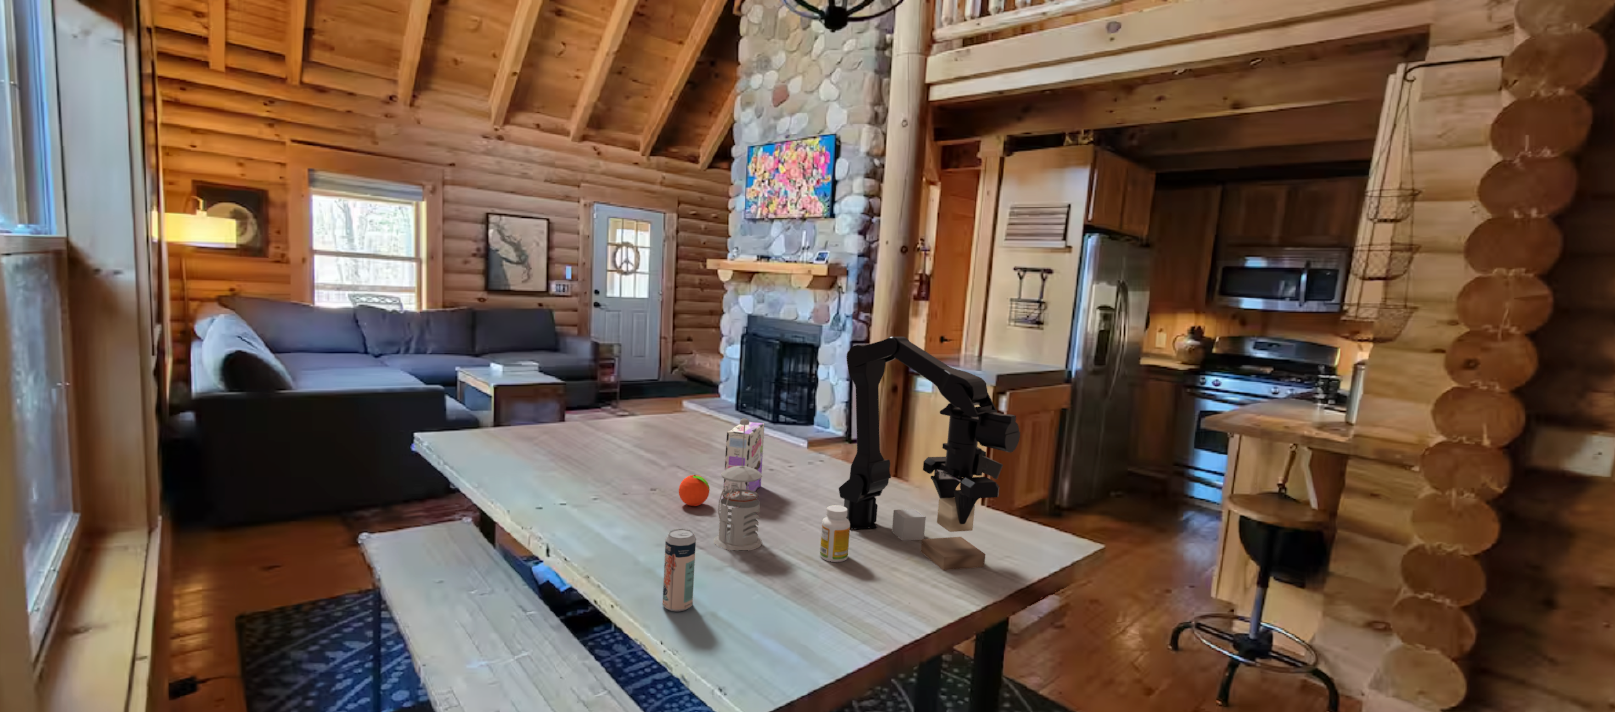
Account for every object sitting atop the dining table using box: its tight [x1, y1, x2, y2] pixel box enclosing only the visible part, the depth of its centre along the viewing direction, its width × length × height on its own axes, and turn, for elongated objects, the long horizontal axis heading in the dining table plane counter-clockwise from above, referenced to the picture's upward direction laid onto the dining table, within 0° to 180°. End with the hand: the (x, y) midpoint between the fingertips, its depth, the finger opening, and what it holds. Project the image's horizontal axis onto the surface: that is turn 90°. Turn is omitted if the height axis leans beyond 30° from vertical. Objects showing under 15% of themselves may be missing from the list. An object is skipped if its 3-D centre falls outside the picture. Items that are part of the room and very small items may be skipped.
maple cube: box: [936, 497, 976, 533], centre depth 136 cm, size 5×5×5 cm
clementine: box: [678, 474, 711, 507], centre depth 157 cm, size 8×7×7 cm
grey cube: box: [891, 508, 927, 542], centre depth 148 cm, size 5×5×5 cm
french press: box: [713, 418, 763, 551], centre depth 136 cm, size 10×12×25 cm
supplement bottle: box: [819, 504, 851, 563], centre depth 133 cm, size 5×5×10 cm
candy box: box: [722, 421, 765, 499], centre depth 169 cm, size 14×6×16 cm, turn 168°
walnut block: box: [920, 536, 986, 571], centre depth 137 cm, size 9×9×3 cm
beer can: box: [662, 528, 697, 613], centre depth 110 cm, size 5×5×12 cm
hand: (955, 518), depth 136 cm, fingers closed on maple cube, 5 cm apart
